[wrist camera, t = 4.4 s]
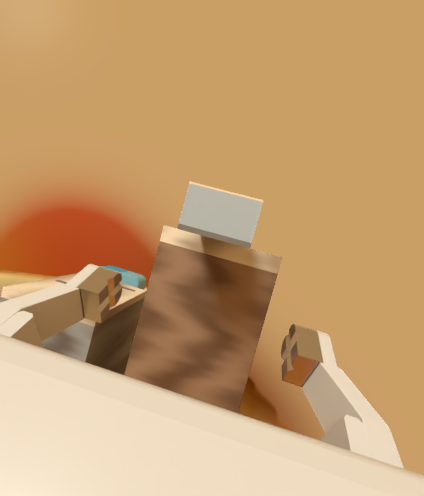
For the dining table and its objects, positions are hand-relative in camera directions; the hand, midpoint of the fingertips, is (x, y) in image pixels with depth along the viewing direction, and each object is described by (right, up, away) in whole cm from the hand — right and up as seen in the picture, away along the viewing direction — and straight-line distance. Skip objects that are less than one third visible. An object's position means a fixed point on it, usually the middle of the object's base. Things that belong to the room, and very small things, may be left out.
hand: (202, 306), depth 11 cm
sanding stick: (+2, +3, +13) cm, 13 cm away
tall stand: (-5, -22, +18) cm, 29 cm away
